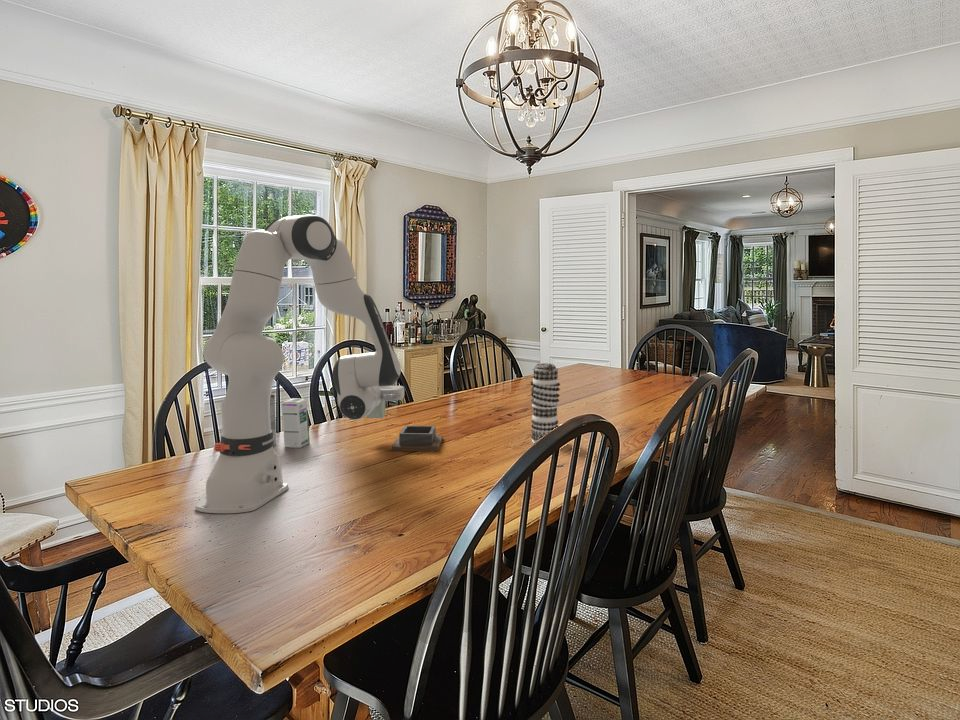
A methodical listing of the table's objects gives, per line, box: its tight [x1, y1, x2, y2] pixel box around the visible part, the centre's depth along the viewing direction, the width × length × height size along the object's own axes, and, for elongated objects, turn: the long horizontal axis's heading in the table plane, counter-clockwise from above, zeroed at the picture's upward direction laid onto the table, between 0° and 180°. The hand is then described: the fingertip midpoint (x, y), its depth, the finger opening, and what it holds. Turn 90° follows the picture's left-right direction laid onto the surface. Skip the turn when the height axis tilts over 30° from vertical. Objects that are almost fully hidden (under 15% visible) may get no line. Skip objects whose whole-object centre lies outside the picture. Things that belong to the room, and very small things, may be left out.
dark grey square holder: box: [391, 425, 444, 452], centre depth 180 cm, size 14×14×5 cm
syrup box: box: [281, 397, 311, 449], centre depth 179 cm, size 6×6×14 cm
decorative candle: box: [530, 362, 561, 444], centre depth 181 cm, size 9×9×25 cm
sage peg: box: [366, 401, 386, 419], centre depth 184 cm, size 5×5×15 cm
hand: (376, 388), depth 184 cm, fingers closed on sage peg, 5 cm apart
